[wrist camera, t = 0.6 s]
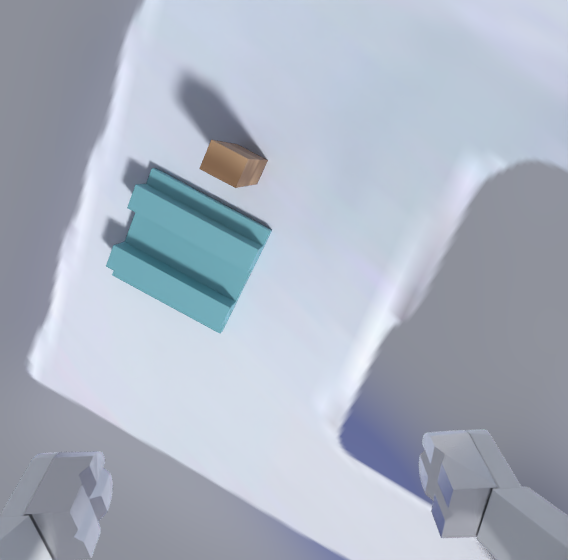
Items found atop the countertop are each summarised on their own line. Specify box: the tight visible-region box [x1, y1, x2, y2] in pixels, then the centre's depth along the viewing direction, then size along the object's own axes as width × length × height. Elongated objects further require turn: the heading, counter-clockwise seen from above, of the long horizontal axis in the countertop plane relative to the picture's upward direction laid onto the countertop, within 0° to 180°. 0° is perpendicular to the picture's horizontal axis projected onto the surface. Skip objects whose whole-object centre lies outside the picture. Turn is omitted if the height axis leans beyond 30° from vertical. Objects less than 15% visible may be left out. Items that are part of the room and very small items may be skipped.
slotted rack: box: [106, 168, 272, 333], centre depth 51 cm, size 15×16×4 cm
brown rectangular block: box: [200, 140, 268, 188], centre depth 45 cm, size 3×4×9 cm
